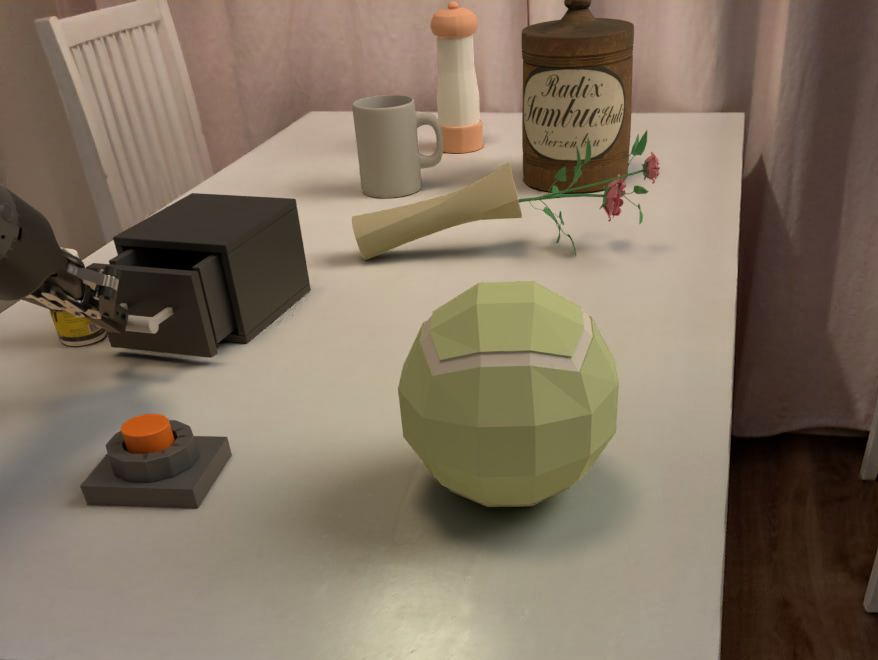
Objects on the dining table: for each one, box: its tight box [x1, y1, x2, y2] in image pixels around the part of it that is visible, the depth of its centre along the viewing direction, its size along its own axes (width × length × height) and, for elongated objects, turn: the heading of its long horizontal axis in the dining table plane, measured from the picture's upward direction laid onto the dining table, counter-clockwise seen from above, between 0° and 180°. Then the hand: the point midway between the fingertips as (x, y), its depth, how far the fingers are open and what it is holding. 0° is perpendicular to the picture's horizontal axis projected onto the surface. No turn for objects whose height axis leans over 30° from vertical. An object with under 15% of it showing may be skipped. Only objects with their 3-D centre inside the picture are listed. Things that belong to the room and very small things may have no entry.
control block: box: [79, 419, 233, 509], centre depth 72 cm, size 9×8×4 cm
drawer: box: [85, 247, 237, 359], centre depth 90 cm, size 18×11×8 cm, turn 162°
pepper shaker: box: [429, 0, 484, 154], centre depth 140 cm, size 7×7×19 cm
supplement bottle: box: [48, 247, 107, 347], centre depth 93 cm, size 5×5×8 cm
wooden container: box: [521, 0, 635, 194], centre depth 123 cm, size 15×15×22 cm
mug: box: [351, 94, 444, 199], centre depth 127 cm, size 12×8×11 cm
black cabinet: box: [112, 192, 312, 344], centre depth 96 cm, size 15×13×10 cm
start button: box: [120, 413, 174, 454], centre depth 71 cm, size 4×4×2 cm
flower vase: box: [351, 129, 660, 261], centre depth 107 cm, size 12×12×35 cm
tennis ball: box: [397, 280, 620, 508], centre depth 65 cm, size 15×15×15 cm
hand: (120, 322), depth 84 cm, fingers closed
